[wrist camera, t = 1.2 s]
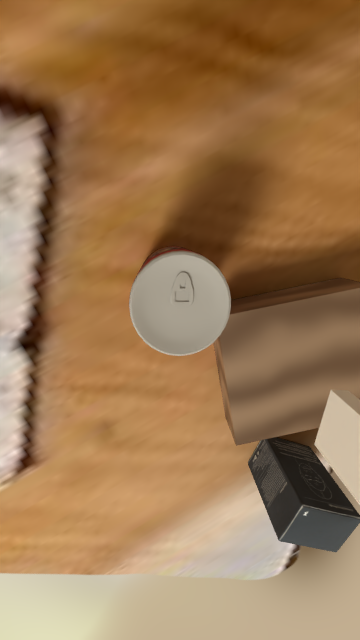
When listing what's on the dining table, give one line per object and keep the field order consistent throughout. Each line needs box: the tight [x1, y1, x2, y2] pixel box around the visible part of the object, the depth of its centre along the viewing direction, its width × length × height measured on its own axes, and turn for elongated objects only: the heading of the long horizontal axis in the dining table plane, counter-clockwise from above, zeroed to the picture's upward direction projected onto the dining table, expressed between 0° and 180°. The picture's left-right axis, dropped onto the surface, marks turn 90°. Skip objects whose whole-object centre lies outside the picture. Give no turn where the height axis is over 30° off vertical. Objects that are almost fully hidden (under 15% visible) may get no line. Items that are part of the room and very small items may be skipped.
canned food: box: [129, 246, 231, 356], centre depth 25 cm, size 8×8×11 cm
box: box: [248, 437, 360, 552], centre depth 34 cm, size 8×6×11 cm
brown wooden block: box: [214, 278, 360, 446], centre depth 31 cm, size 16×16×5 cm
